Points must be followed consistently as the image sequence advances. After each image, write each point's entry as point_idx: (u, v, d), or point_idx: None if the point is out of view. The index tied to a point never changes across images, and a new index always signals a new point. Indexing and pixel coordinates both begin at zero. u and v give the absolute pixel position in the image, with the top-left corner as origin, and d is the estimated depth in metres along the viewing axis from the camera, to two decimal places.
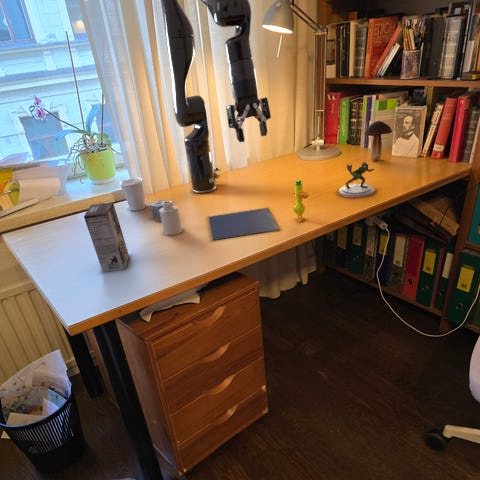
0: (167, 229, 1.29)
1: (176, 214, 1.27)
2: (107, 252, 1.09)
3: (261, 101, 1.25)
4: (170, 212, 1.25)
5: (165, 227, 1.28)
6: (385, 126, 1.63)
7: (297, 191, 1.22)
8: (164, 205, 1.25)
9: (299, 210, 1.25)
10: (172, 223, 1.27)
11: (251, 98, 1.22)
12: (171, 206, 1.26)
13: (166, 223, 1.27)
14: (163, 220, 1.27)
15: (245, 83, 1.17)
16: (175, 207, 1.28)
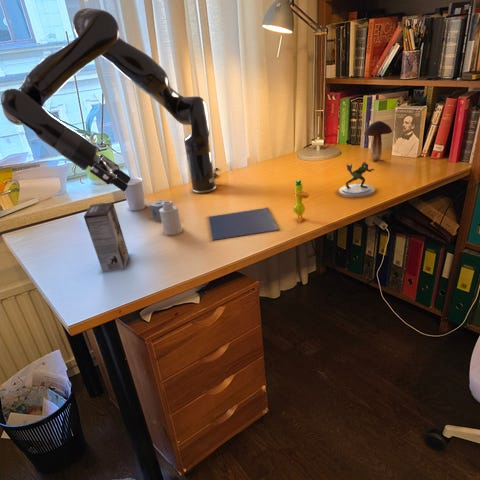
0: (167, 229, 1.29)
1: (176, 214, 1.27)
2: (107, 252, 1.09)
3: None
4: (170, 212, 1.25)
5: (165, 227, 1.28)
6: (385, 126, 1.63)
7: (297, 191, 1.22)
8: (164, 205, 1.25)
9: (299, 210, 1.25)
10: (172, 223, 1.27)
11: None
12: (171, 206, 1.26)
13: (166, 223, 1.27)
14: (163, 220, 1.27)
15: None
16: (175, 207, 1.28)
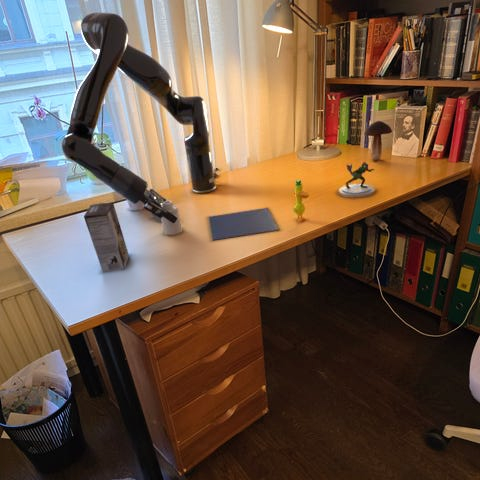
0: (167, 229, 1.29)
1: (176, 214, 1.27)
2: (107, 252, 1.09)
3: None
4: None
5: (165, 227, 1.28)
6: (385, 126, 1.63)
7: (297, 191, 1.22)
8: (164, 205, 1.25)
9: (299, 210, 1.25)
10: (172, 223, 1.27)
11: None
12: (171, 206, 1.26)
13: (166, 223, 1.27)
14: (163, 220, 1.27)
15: None
16: (175, 207, 1.28)
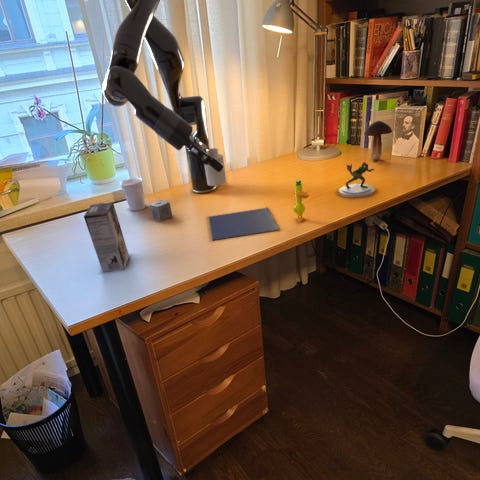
0: (211, 179, 1.21)
1: (222, 162, 1.19)
2: (107, 252, 1.09)
3: None
4: None
5: (209, 177, 1.20)
6: (385, 126, 1.63)
7: (297, 191, 1.22)
8: (209, 152, 1.17)
9: (299, 210, 1.25)
10: (217, 172, 1.19)
11: None
12: (216, 153, 1.18)
13: (211, 172, 1.19)
14: (207, 169, 1.19)
15: None
16: (220, 155, 1.20)
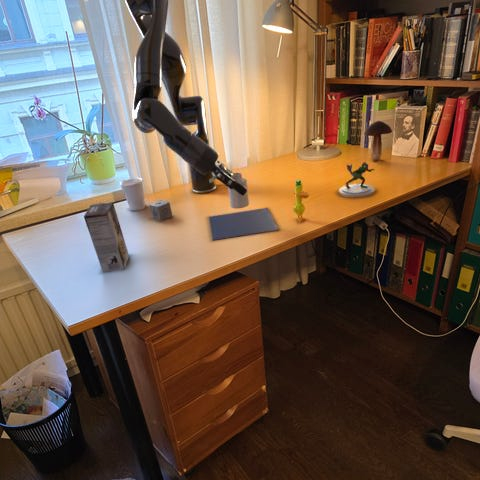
0: (235, 202, 1.24)
1: (245, 186, 1.23)
2: (107, 252, 1.09)
3: None
4: None
5: (233, 200, 1.24)
6: (385, 126, 1.63)
7: (297, 191, 1.22)
8: (234, 176, 1.21)
9: (299, 210, 1.25)
10: (241, 195, 1.23)
11: None
12: (240, 178, 1.22)
13: (234, 195, 1.23)
14: (231, 192, 1.23)
15: None
16: (244, 179, 1.24)
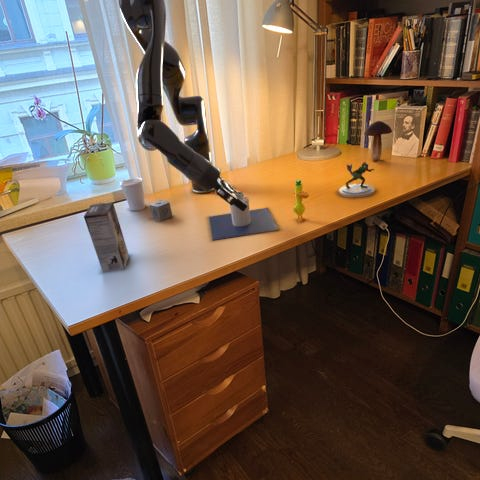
0: (237, 220, 1.28)
1: (247, 205, 1.26)
2: (107, 252, 1.09)
3: None
4: None
5: (235, 218, 1.27)
6: (385, 126, 1.63)
7: (297, 191, 1.22)
8: None
9: (299, 210, 1.25)
10: (243, 214, 1.26)
11: None
12: (242, 197, 1.25)
13: (237, 214, 1.26)
14: (234, 211, 1.26)
15: None
16: (245, 198, 1.27)
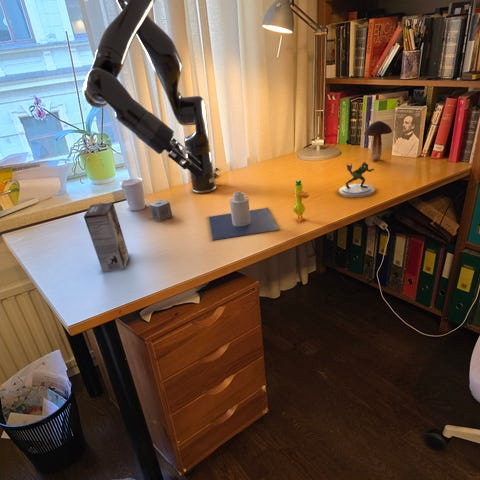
0: (237, 220, 1.28)
1: (247, 205, 1.26)
2: (107, 252, 1.09)
3: None
4: (242, 203, 1.24)
5: (235, 218, 1.27)
6: (385, 126, 1.63)
7: (297, 191, 1.22)
8: (236, 196, 1.24)
9: (299, 210, 1.25)
10: (243, 214, 1.26)
11: None
12: (242, 197, 1.25)
13: (237, 214, 1.26)
14: (234, 211, 1.26)
15: None
16: (245, 198, 1.27)
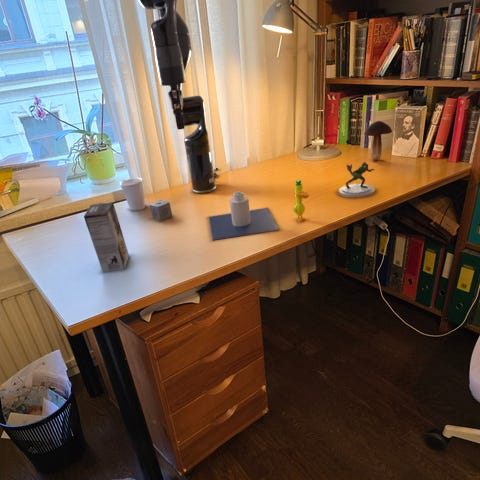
0: (237, 220, 1.28)
1: (247, 205, 1.26)
2: (107, 252, 1.09)
3: None
4: (242, 203, 1.24)
5: (235, 218, 1.27)
6: (385, 126, 1.63)
7: (297, 191, 1.22)
8: (236, 196, 1.24)
9: (299, 210, 1.25)
10: (243, 214, 1.26)
11: None
12: (242, 197, 1.25)
13: (237, 214, 1.26)
14: (234, 211, 1.26)
15: None
16: (245, 198, 1.27)
